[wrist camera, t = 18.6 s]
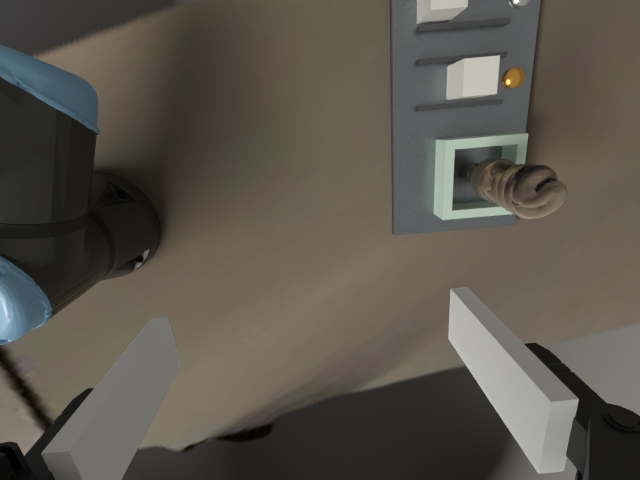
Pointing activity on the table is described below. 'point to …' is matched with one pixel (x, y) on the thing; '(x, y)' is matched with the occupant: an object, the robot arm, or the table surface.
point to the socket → (444, 173)
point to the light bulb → (517, 186)
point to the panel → (453, 102)
